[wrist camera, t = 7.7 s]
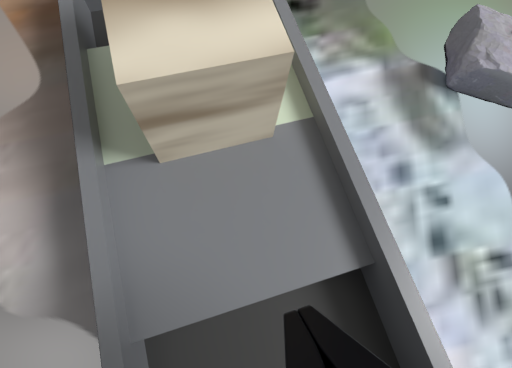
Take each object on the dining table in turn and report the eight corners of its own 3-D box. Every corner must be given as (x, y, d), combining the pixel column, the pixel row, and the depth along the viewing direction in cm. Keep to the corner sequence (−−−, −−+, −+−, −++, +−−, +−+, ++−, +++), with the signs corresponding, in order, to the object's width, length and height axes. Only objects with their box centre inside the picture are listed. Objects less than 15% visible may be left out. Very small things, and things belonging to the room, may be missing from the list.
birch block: (272, 136, 21) (294, 51, 14) (160, 163, 20) (116, 84, 12) (235, 32, 24) (236, -84, 17) (135, 49, 23) (88, -69, 16)
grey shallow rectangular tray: (427, 402, 19) (482, 434, 15) (156, 520, 16) (129, 600, 12) (253, -15, 31) (257, -64, 26) (80, 10, 28) (53, -40, 24)
